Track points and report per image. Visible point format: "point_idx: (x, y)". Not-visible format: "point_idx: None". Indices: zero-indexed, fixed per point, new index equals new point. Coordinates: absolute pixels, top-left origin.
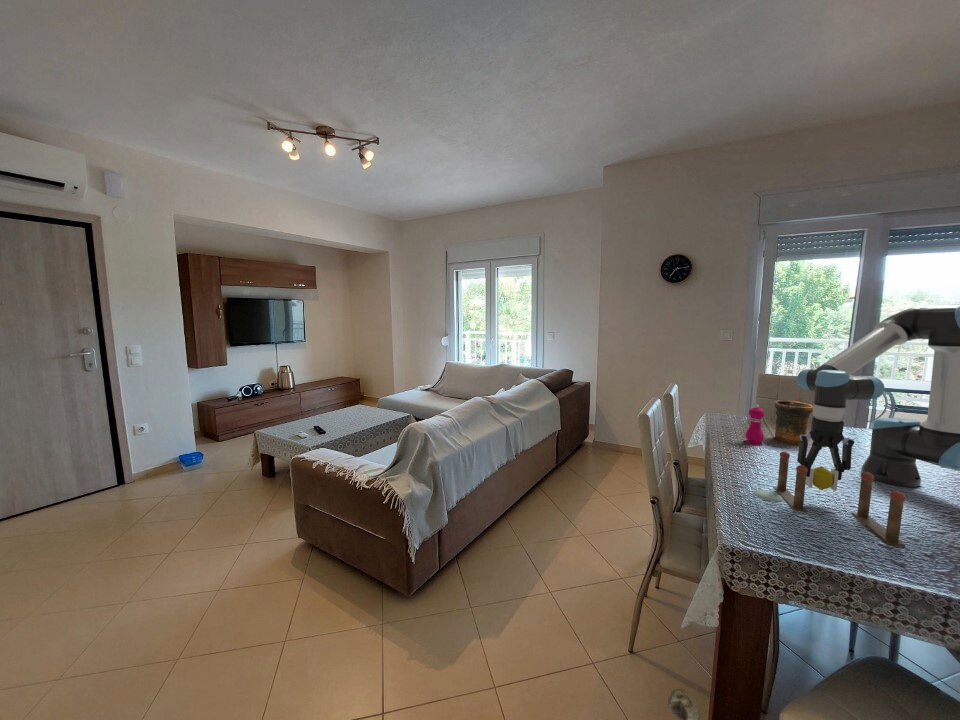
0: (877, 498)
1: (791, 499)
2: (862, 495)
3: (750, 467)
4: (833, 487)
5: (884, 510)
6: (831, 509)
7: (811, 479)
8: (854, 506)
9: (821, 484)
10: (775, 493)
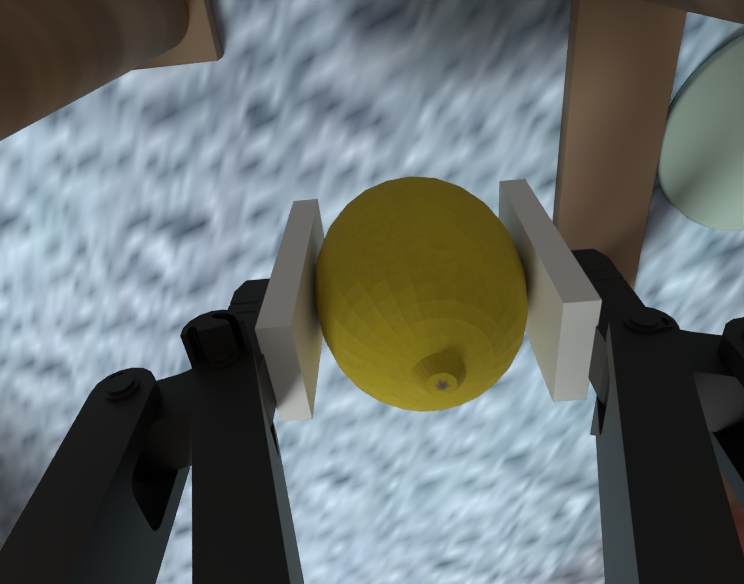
0: (41, 407)
1: (616, 117)
2: (81, 3)
3: (598, 549)
4: (316, 219)
5: (14, 248)
6: (344, 96)
7: (538, 220)
8: (177, 232)
9: (442, 183)
10: (679, 203)
